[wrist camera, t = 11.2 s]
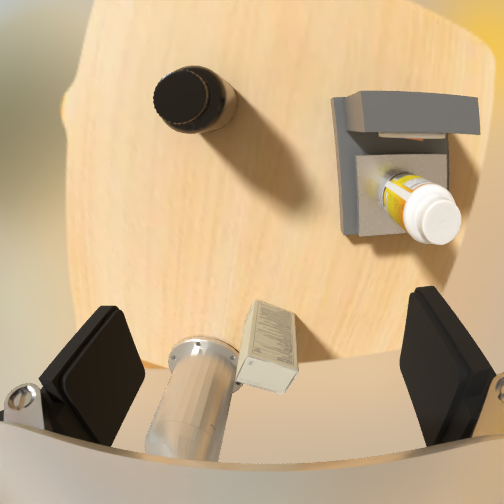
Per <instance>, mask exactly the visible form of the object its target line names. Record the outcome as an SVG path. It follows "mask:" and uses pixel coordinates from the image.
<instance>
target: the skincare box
mask: <svg viewBox="0 0 504 504" xmlns="http://www.w3.org/2000/svg"><path fill="white" fill-rule="evenodd" d="M298 372H299V370H298V354H297V338H296V324H295V314H294V313H292V312H290V311H287V310H284V309H282V308H279V307H276V306H273V305H270V304H268V303H265V302H262V301H259V300H254V302H253V304H252V306H251V308H250V311H249V313H248V315H247V318H246V320H245V324H244V330H243V336H242V341H241V347H240V353H239V359H238V365H237V371H236V378H235V380H236V381H238V382H241V383H244V384H247V385H250V386H254V387H257V388H261V389H264V390H268V391H272V392H275V393H279V394H284V393H285V392H286V390H287V389H288V387H289V386H290V385H291V383H292V382H293V380H294V379H295V377H296V376H297V374H298Z"/></svg>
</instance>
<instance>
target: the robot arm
mask: <svg viewBox="0 0 504 504" xmlns="http://www.w3.org/2000/svg"><path fill="white" fill-rule="evenodd" d="M238 359H239V353H238V352H237V351H236V350H235V349H234V348H232V347H231V346H229V345H228V344H226V343H224V342H222V341H220V340H217V339H214V338H209V337H199V336H197V337H190V338H186V339H183V340H182V341H180V342H178V343H177V344H176V345H175V346H174V347H173V349H172V351H171V353H170V355H169V360H168V363H169V368H170V371H171V373H172V375H171V378H170V380H169V382H168V385H167V387H166V389H165V392H164V394H163V396H162V399H161V401H160V404H159V406H158V408H157V411H156V413H155V415H154V418H153V421H152V423H151V425H150V428H149V430H148V433H147V435H146V438H145V452H146V454H144V453H138V452H133V451H127V450H122V449H117V448H113V447H111V445H112V443H113V441H114V439H115V437H116V435H117V433H118V431H119V429H120V427H121V425H122V423H123V421H124V419H125V416H126V414H127V412H128V410H129V408H130V406H131V404H132V402H133V400H134V398H135V396H136V394H137V392H138V390H139V388H140V386H141V384H142V382H143V380H144V378H145V370H144V367H143V364H142V362H141V359H140V357H139V354H138V352H137V349H136V346H135V344H134V341H133V339H132V336H131V333H130V330H129V328H128V325H127V322H126V319H125V316H124V313H123V312H122V311H121V310H119V308H118V307H117V306H100V307H99V308H98V309H97V310H96V311H95V312H94V314H93V315H92V316H91V317H90V318H89V319H88V320H87V321H86V323H85V324H84V325H83V326H82V327H81V328H80V329H79V331H78V332H77V333H76V334H75V335H74V336H73V338H72V339H71V340H70V341H69V342H68V343H67V345H66V346H65V347H64V348H63V349H62V350H61V352H60V353H59V354H58V355H57V356H56V358H55V359H54V360H53V361H52V363H51V364H50V365H49V366H48V368H47V369H46V370H45V371H44V372H43V374H42V375H41V376H40V377H39V380H40V382H41V383H42V385H43V387H42V389H41V390H40V388H39V387H38V386H37V385H35V384H33V383H26V384H22V385H19V386H17V387H15V388H14V389H13V390H11V392H10V393H9V394H8V395H7V397H6V399H5V403H4V410H3V411H0V504H504V372H503V373H501V374H498V375H496V373H495V372H494V370H493V369H492V367H491V365H490V364H489V362H488V361H487V359H486V358H485V356H484V354H483V353H482V351H481V350H480V348H479V347H478V346H477V344H476V343H475V341H474V340H473V338H472V337H471V335H470V334H469V332H468V331H467V330H466V328H465V327H464V325H463V324H462V323H461V322H460V320H459V319H458V318H457V316H456V314H455V313H454V312H453V310H452V309H451V308H450V306H449V305H448V304H447V302H446V301H445V300H444V298H443V297H442V296H441V294H440V293H439V292H438V291H437V289H436V288H435V287H434V286H426V287H418V288H416V289H415V292H414V293H411V294H410V296H409V304H408V311H407V319H406V325H405V332H404V338H403V344H402V350H401V356H400V370H401V372H402V375H403V378H404V381H405V383H406V386H407V389H408V392H409V395H410V397H411V400H412V403H413V406H414V409H415V412H416V415H417V418H418V421H419V424H420V427H421V430H422V433H423V436H424V440H425V443H426V446H427V447H425V448H420V449H415V450H410V451H404V452H399V453H393V454H387V455H380V456H374V457H367V458H359V459H350V460H341V461H330V462H316V463H297V464H240V463H220V462H218V459H219V454H220V449H221V445H222V440H223V435H224V430H225V425H226V421H227V416H228V411H229V406H230V401H231V396H232V393H234V392H235V391H237V390H238V389H239V388H240V387H241V386H242V385H243V383H241V382H238V381H236V380H235V378H236V371H237V365H238Z"/></svg>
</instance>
